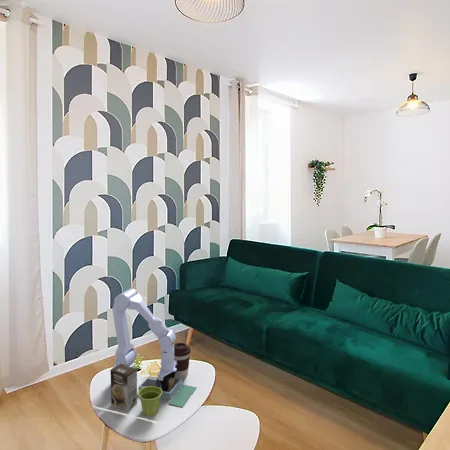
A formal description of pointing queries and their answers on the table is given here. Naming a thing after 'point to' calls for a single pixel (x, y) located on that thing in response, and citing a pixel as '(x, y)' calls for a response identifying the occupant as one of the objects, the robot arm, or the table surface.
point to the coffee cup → (181, 359)
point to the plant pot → (150, 399)
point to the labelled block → (170, 384)
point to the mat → (182, 396)
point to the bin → (164, 394)
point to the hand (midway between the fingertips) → (167, 387)
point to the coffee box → (123, 387)
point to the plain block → (153, 381)
